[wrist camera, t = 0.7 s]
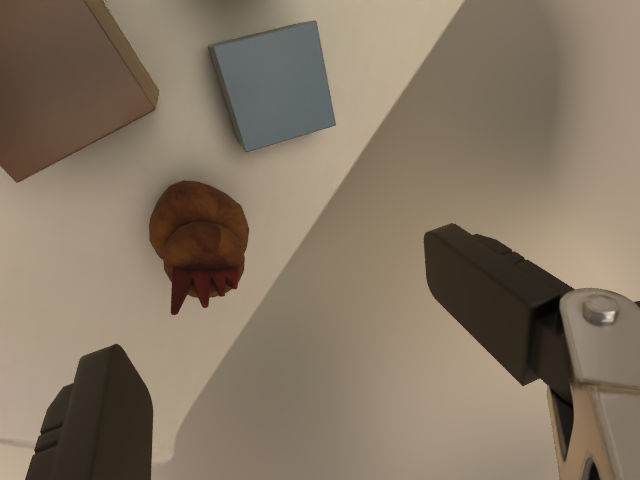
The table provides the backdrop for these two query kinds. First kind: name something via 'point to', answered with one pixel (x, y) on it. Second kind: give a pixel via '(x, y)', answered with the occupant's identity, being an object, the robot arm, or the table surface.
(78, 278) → the table surface
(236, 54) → the slate block
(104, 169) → the table surface
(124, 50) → the walnut block
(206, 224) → the wooden figurine
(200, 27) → the table surface
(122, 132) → the table surface
